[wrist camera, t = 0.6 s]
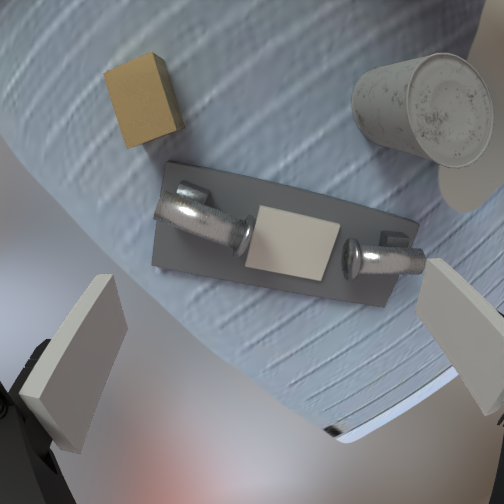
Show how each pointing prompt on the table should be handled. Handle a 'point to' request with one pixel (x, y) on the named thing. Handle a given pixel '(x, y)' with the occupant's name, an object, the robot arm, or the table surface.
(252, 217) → the shaft
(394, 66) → the speckled tin can
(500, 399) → the robot arm
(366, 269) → the shaft
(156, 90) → the coupler
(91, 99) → the table surface
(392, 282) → the board
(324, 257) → the off-white flat plate
